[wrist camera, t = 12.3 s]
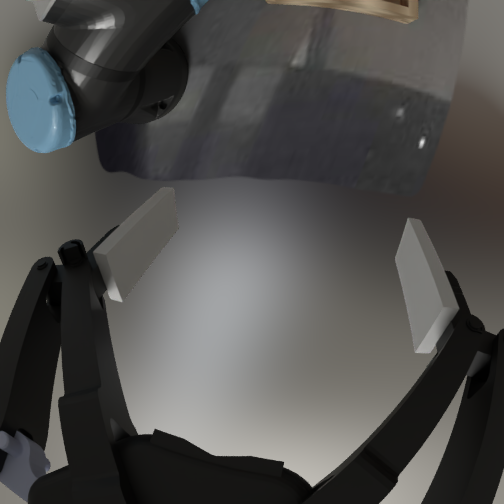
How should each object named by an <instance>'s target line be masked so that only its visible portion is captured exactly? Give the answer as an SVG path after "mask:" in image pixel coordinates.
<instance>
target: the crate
mask: <svg viewBox="0 0 504 504" xmlns="http://www.w3.org/2000/svg"><path fill="white" fill-rule="evenodd" d="M265 1H266V2H267V3H268V4H288V5H305V6H316V7H325V8H333V9H340V10H347V11H353V12H358V13H363V14H368V15H373V16H378V17H382V18H386V19H390V20H394V21H398V22H401V23H405V24H408V23H410V22H412V21H414V20H416V19H418V0H265Z"/></svg>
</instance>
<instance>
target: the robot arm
mask: <svg viewBox="0 0 504 504" xmlns="http://www.w3.org/2000/svg"><path fill="white" fill-rule="evenodd" d="M27 1H31V2H32V3H33V4H34V6H35V9H36V12H37V16H38V19H39V20H40V21H44V22H48V23H51V24H54V26H53V27H52V29H51V31H50V32H49V34H48V36H47V38H46V40H45V42H44V44H43V45H42V46H41V47H40V48H38V47H36V48H31V49H29V50H28V51H26V52H25V53H24V54H22V55H20V56H19V57H18V58H17V59H16V60H15V62H14V63H13V65H12V67H11V69H10V72H9V75H8V80H7V87H6V102H7V108H8V114H9V117H10V121H11V124H12V126H13V128H14V131H15V132H16V134H17V136H18V137H19V139H20V140H21V141H22V142H23V144H24V145H25V146H27V147H28V148H29V149H31V150H33V151H35V152H38V153H41V152H42V153H48V152H52V151H54V150H57V149H60V148H63V147H67V146H69V145H70V144H71V143H72V142H74V141H76V140H78V139H81V138H83V137H85V136H87V135H89V134H91V133H93V132H96V131H98V130H101V129H103V128H105V127H108V126H110V125H112V124H115V123H117V122H122V123H130V124H143V123H148V122H151V121H154V120H156V119H159V118H161V117H163V116H165V115H166V114H168V113H169V112H170V111H171V110H172V109H173V108H174V107H175V106H176V105H177V104H178V102H179V101H180V99H181V97H182V95H183V93H184V91H185V87H186V84H187V77H188V68H187V62H186V58H185V55H184V53H183V51H182V49H181V48H180V46H179V45H178V44H177V43H176V42H175V41H174V40H173V39H171V37H172V36H173V35H174V34H175V33H176V32H177V31H178V30H179V29H180V28H181V27H182V26H183V25H184V24H185V23H186V22H187V21H188V20H189V19H190V18H191V17H192V16H193V15H194V14H198V13H199V12H200V8H201V7H202V6H203V5H204V4H205V3H206V2H207V1H208V0H27ZM178 229H179V225H178V218H177V210H176V202H175V194H174V188H167V187H162V188H161V189H160V190H158V191H157V192H156V193H155V194H154V195H153V196H152V197H150V198H149V199H148V200H147V201H146V202H145V203H144V204H143V205H142V206H140V207H139V208H138V209H137V210H136V211H135V212H134V213H133V214H132V215H130V216H129V217H128V218H127V219H126V220H125V221H124V222H123V223H122V224H121V225H118V226H116V227H114V228H113V229H111V230H110V231H109V232H108V233H106V234H105V236H104V237H102V238H101V239H100V241H98V242H97V243H96V244H95V245H94V246H93V247H92V248H91V249H90V250H89V251H88V252H87V253H86V251H85V248H84V245H83V242H82V241H81V240H76V239H75V240H70V241H68V242H66V243H64V244H63V245H62V246H61V247H60V248H59V250H58V254H59V257H60V259H61V261H62V264H63V265H55V263H54V261H53V259H52V258H51V257H44V258H41V259H39V260H38V261H37V262H36V263H35V264H34V265H33V266H32V268H31V270H30V272H29V274H28V276H27V278H26V280H25V283H24V285H23V287H22V289H21V291H20V294H19V296H18V298H17V300H16V303H15V305H14V308H13V310H12V313H11V315H10V317H9V320H8V323H7V325H6V328H5V331H4V334H3V337H2V339H1V342H0V481H1V482H2V483H3V484H4V485H6V486H7V487H8V488H9V489H10V490H12V491H13V492H14V493H16V494H17V495H18V496H19V497H21V498H22V499H23V500H25V501H26V502H28V504H379V503H380V502H381V501H382V500H383V499H384V498H385V497H386V496H387V495H388V493H389V492H390V491H391V490H392V489H393V487H394V486H395V485H396V483H397V482H398V476H399V474H400V473H401V472H402V471H403V469H404V468H405V467H406V466H407V465H408V463H409V462H410V461H411V459H412V458H413V457H414V456H415V454H416V453H417V452H418V450H419V449H420V448H421V447H422V445H423V444H424V442H425V441H426V439H427V438H428V437H429V435H430V434H431V433H432V431H433V430H434V428H435V427H436V425H437V423H438V422H439V421H440V419H441V418H442V416H443V414H444V413H445V411H446V410H447V408H448V406H449V405H450V403H451V401H452V399H453V398H454V396H455V394H456V392H457V391H458V389H459V387H460V385H461V383H462V382H463V380H464V378H465V376H466V375H467V380H466V384H465V389H464V392H463V396H462V400H461V404H460V407H459V411H458V414H457V418H456V421H455V424H454V427H453V430H452V433H451V436H450V439H449V442H448V445H447V447H446V450H445V453H444V455H443V458H442V460H441V462H440V465H439V467H438V470H437V472H436V474H435V476H434V479H433V481H432V483H431V485H430V487H429V490H428V491H427V493H426V495H425V498H424V499H423V501H422V503H421V504H492V503H493V500H494V497H495V494H496V491H497V488H498V486H499V482H500V479H501V476H502V472H503V469H504V329H502V330H500V332H499V333H498V334H497V335H494V334H492V333H489V332H487V331H485V327H484V325H483V323H482V321H481V320H480V319H479V318H477V317H476V316H474V315H471V313H470V310H469V308H468V305H467V303H466V300H465V298H464V295H462V294H463V293H462V290H461V288H460V286H459V283H458V281H457V279H456V278H455V276H454V275H453V274H452V273H451V272H450V271H444V269H443V266H442V264H441V262H440V260H439V258H438V255H437V253H436V251H435V249H434V247H433V245H432V242H431V240H430V238H429V236H428V234H427V232H426V230H425V228H424V226H423V224H422V222H421V220H418V219H413V218H408V220H407V223H406V226H405V230H404V233H403V236H402V239H401V242H400V245H399V248H398V251H397V254H396V257H395V262H396V265H397V269H398V272H399V277H400V281H401V285H402V289H403V293H404V298H405V302H406V307H407V311H408V317H409V322H410V327H411V332H412V338H413V344H414V350H415V352H416V353H430V352H431V351H432V349H433V348H434V347H435V345H436V347H437V354H436V355H435V356H434V358H433V359H432V360H431V361H430V363H429V364H428V365H427V368H426V369H425V371H424V372H423V373H422V375H421V376H420V377H419V379H418V380H417V382H416V383H415V384H414V385H413V387H412V388H411V389H410V391H409V392H408V393H407V394H406V396H405V397H404V398H403V399H402V400H401V402H400V403H399V404H398V405H397V407H396V408H395V409H394V410H393V411H392V412H391V414H390V415H389V416H388V417H387V418H386V419H385V420H384V421H383V423H382V424H381V425H380V426H379V427H378V428H377V429H376V430H375V431H374V432H373V433H372V434H371V435H370V437H369V438H368V439H367V440H366V441H365V442H364V443H363V444H362V445H361V446H360V447H359V448H358V449H357V450H355V451H354V452H353V453H352V454H351V455H350V456H349V457H348V458H347V459H346V460H345V461H344V462H343V463H342V464H341V465H339V467H337V468H336V469H335V470H333V471H332V472H331V473H330V474H328V475H327V476H326V477H325V478H324V479H322V480H321V481H320V482H319V483H317V484H316V485H315V486H314V487H311V486H310V484H309V483H308V482H307V481H306V480H305V479H303V478H302V477H300V476H299V475H298V474H296V473H295V472H292V471H291V470H289V469H286V468H284V467H283V465H284V462H282V461H275V460H269V459H263V458H258V457H253V456H214V455H211V454H209V453H208V452H206V451H204V450H202V449H200V448H199V447H197V446H195V445H194V444H192V443H190V442H188V441H187V440H185V439H183V438H180V437H177V436H174V435H171V434H168V433H165V432H162V431H160V430H157V429H155V430H154V433H153V435H152V434H143V435H138V433H137V431H136V429H135V427H134V425H133V423H132V421H131V419H130V416H129V413H128V410H127V406H126V402H125V399H124V395H123V391H122V387H121V383H120V379H119V375H118V371H117V366H116V362H115V358H114V353H113V347H112V342H111V337H110V331H109V325H108V319H107V313H106V305H105V300H104V297H103V294H104V292H105V291H106V290H107V292H108V294H109V297H110V299H113V300H116V301H120V302H123V301H124V300H125V299H126V297H127V296H128V294H129V293H130V292H131V290H132V289H133V288H134V286H135V285H136V283H137V282H138V281H139V279H140V278H141V277H142V275H143V274H144V273H145V271H146V270H147V269H148V267H149V266H150V265H151V263H152V262H153V261H154V259H155V258H156V257H157V256H158V254H159V253H160V252H161V250H162V249H163V248H164V247H165V245H166V244H167V243H168V242H169V240H170V239H171V238H172V237H173V235H174V234H175V233H176V231H177V230H178ZM46 300H47V303H46ZM60 347H61V351H62V369H63V381H64V391H65V394H64V396H63V397H60V398H59V400H58V407H59V415H60V422H61V429H62V434H63V440H64V445H65V451H66V455H67V460H68V464H69V465H67V466H65V467H63V468H61V469H58V470H56V471H53V472H51V473H48V474H46V472H47V471H48V470H49V469H50V462H49V460H48V459H47V458H46V456H45V453H44V450H45V447H46V441H47V437H48V428H49V419H50V409H51V401H52V393H53V386H54V379H55V373H56V368H57V362H58V357H59V352H60Z"/></svg>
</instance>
